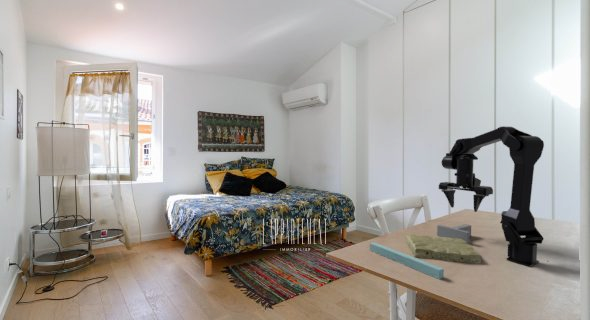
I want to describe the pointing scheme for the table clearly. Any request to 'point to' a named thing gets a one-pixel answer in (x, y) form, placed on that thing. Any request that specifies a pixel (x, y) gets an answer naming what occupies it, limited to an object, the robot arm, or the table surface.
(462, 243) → the decorative tile
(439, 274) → the bar
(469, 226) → the grey piece
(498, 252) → the table surface
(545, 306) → the table surface
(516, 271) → the table surface
